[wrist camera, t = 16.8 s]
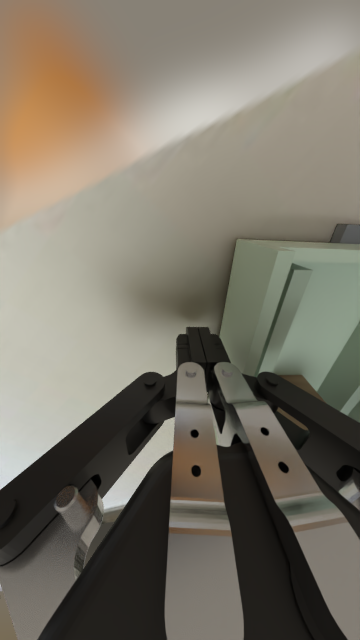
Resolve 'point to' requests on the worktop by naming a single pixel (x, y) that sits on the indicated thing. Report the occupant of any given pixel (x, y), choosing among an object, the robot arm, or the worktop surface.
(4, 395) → the worktop surface
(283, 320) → the tray
